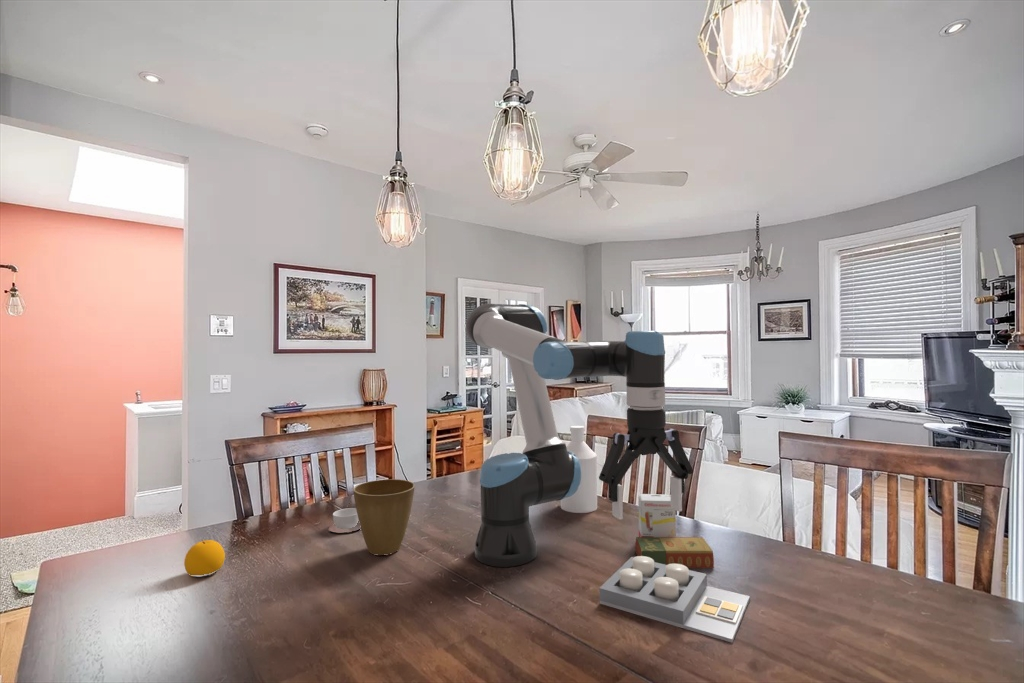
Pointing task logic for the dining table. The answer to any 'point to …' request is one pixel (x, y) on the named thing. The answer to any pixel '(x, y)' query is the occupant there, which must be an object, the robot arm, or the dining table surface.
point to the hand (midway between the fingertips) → (647, 513)
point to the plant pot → (384, 513)
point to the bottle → (582, 475)
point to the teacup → (345, 518)
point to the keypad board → (680, 603)
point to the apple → (204, 558)
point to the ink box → (656, 516)
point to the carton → (676, 551)
